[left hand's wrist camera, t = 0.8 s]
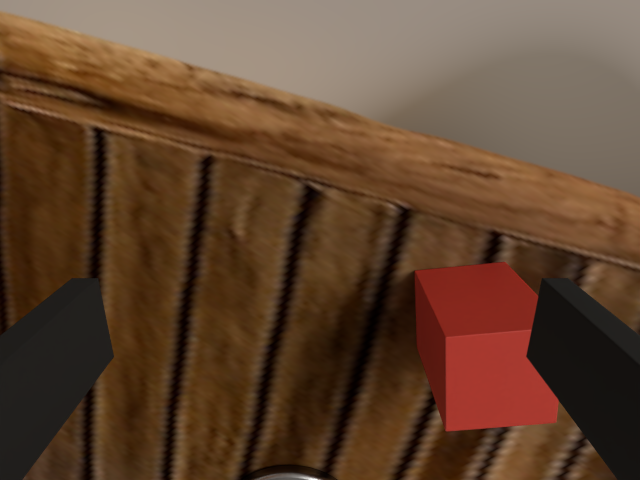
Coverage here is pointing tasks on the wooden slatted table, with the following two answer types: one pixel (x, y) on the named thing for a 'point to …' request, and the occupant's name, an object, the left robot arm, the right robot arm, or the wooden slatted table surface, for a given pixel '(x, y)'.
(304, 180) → the wooden slatted table surface
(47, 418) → the left robot arm
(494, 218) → the wooden slatted table surface
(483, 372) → the brick
